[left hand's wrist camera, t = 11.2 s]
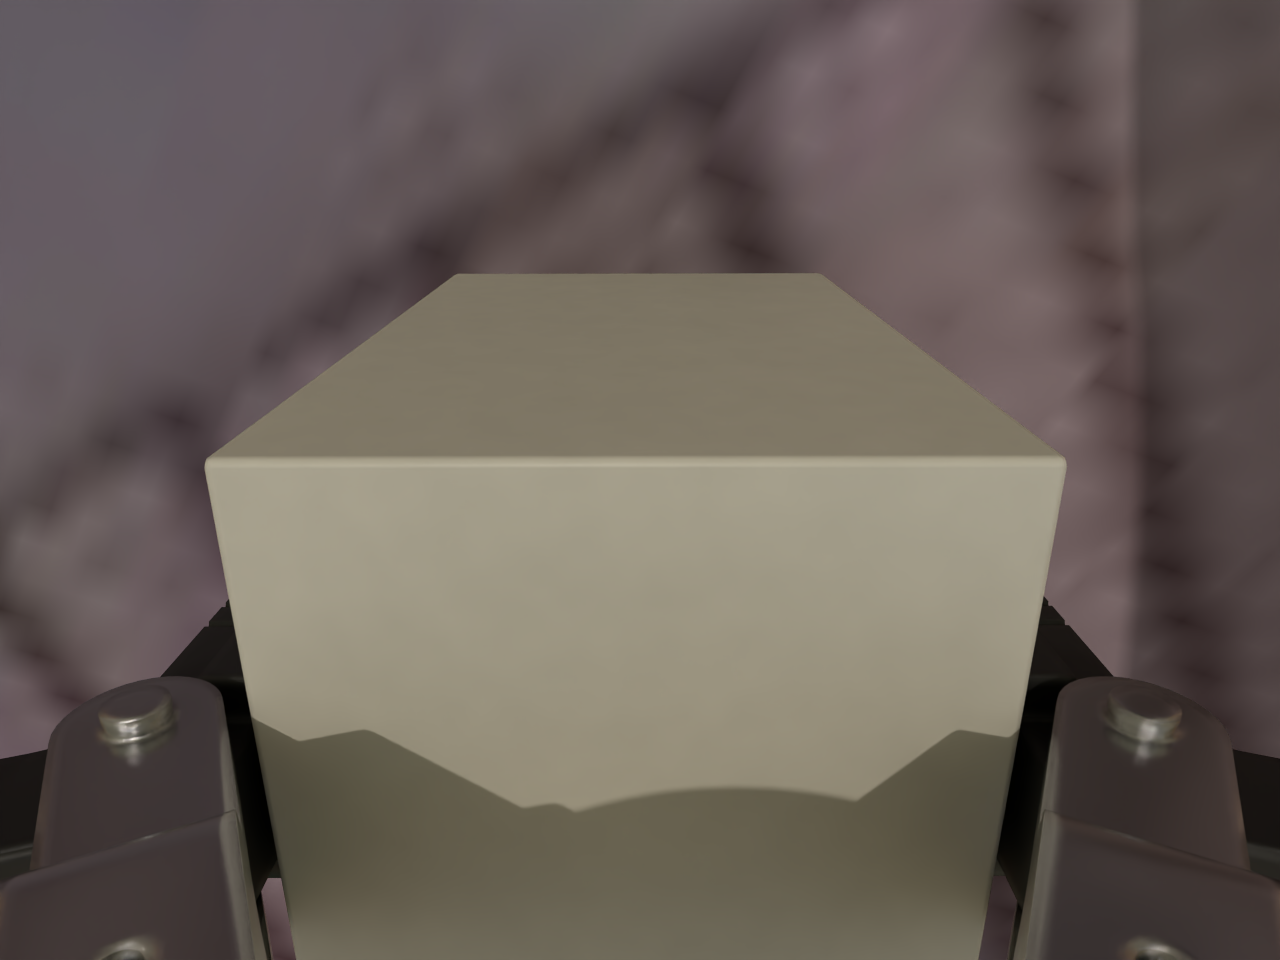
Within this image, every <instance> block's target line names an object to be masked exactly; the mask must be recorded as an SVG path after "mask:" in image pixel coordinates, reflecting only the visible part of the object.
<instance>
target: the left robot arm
mask: <svg viewBox="0 0 1280 960" xmlns="http://www.w3.org/2000/svg"><path fill="white" fill-rule="evenodd" d="M993 876H1006V878H1007V880H1008V882H1009V884H1010V887H1011V889H1012V891H1013V893H1014V895H1015V897H1016V899H1017V903H1016V908H1015V913H1014V918H1013V923H1012V929H1011V936H1010V942H1009V948H1008V954H1007V960H1280V759H1279V758H1274V757H1269V756H1263V755H1258V754H1253V753H1248V752H1242V751H1238V750H1234V749H1232V744H1231V740H1230V737H1229V734H1228V732H1227V731H1226V729H1225V728H1224V726H1223V725H1222V724H1221V723H1220V722H1219V721H1218V719H1217V718H1216V717H1214V716H1213V715H1212V714H1211V713H1210V712H1208V711H1207V710H1206V709H1204V708H1203V707H1201V706H1200V705H1198V704H1197V703H1195V702H1194V701H1192V700H1190V699H1188V698H1186V697H1184V696H1182V695H1180V694H1178V693H1176V692H1173V691H1171V690H1169V689H1166V688H1163V687H1160V686H1157V685H1154V684H1151V683H1147V682H1143V681H1139V680H1134V679H1129V678H1122V677H1114V676H1113V675H1112V674H1111V673H1110V672H1109V671H1108V670H1107V668H1106V667H1105V666H1104V665H1103V664H1102V663H1101V661H1100V660H1099V659H1098V658H1097V657H1096V656H1095V655H1094V653H1093V652H1092V651H1091V650H1090V649H1089V648H1088V647H1087V645H1086V644H1085V643H1084V642H1083V641H1082V640H1081V639H1080V637H1079V636H1078V635H1077V634H1076V633H1075V632H1074V630H1073V629H1072V628H1071V627H1070V626H1069V625H1065V620H1064V619H1063V618H1062V617H1061V616H1060V614H1059V613H1058V612H1057V611H1056V610H1055V609H1054V607H1053V606H1048V601H1047V599H1046V598H1045V597H1044V596H1043V602H1042V607H1041V613H1040V618H1039V624H1038V630H1037V635H1036V641H1035V646H1034V652H1033V657H1032V663H1031V669H1030V674H1029V680H1028V685H1027V691H1026V696H1025V702H1024V708H1023V713H1022V719H1021V724H1020V730H1019V735H1018V741H1017V746H1016V752H1015V758H1014V763H1013V769H1012V774H1011V780H1010V785H1009V791H1008V797H1007V802H1006V808H1005V813H1004V819H1003V824H1002V830H1001V836H1000V841H999V847H998V852H997V858H996V863H995V869H994V874H993ZM267 878H281V874H280V869H279V863H278V858H277V853H276V847H275V842H274V837H273V831H272V826H271V821H270V815H269V810H268V804H267V799H266V794H265V788H264V783H263V778H262V772H261V767H260V762H259V756H258V751H257V746H256V740H255V735H254V730H253V724H252V719H251V713H250V708H249V703H248V697H247V692H246V687H245V681H244V676H243V671H242V665H241V660H240V655H239V649H238V644H237V639H236V633H235V628H234V623H233V617H232V612H231V606H230V601H229V600H228V601H227V602H226V607H222V608H221V609H220V610H219V611H218V612H217V613H216V614H215V615H214V617H213V618H212V619H211V620H210V621H209V627H204V628H203V629H202V630H201V631H200V633H199V634H198V635H197V636H196V637H195V638H194V639H193V640H192V642H191V643H190V644H189V645H188V646H187V647H186V648H185V650H184V651H183V652H182V653H181V654H180V655H179V656H178V657H177V659H176V660H175V661H174V662H173V663H172V664H171V665H170V667H169V668H168V669H167V670H166V671H165V672H164V673H163V675H162V676H161V677H158V678H151V679H146V680H141V681H137V682H133V683H129V684H126V685H123V686H120V687H117V688H114V689H111V690H109V691H107V692H104V693H102V694H100V695H98V696H96V697H94V698H92V699H90V700H88V701H86V702H85V703H83V704H82V705H80V706H79V707H77V708H76V709H74V710H73V711H72V712H70V713H69V714H68V715H67V716H66V717H64V718H63V719H62V721H61V722H60V723H59V724H58V725H57V726H56V728H55V729H54V731H53V732H52V734H51V737H50V740H49V744H48V749H47V750H43V751H38V752H34V753H30V754H25V755H19V756H14V757H9V758H4V759H0V960H273V954H272V948H271V942H270V936H269V929H268V923H267V918H266V913H265V908H264V903H263V898H262V893H261V890H262V888H263V886H264V884H265V882H266V880H267Z"/></svg>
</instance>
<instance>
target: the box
mask: <svg viewBox="0 0 1280 960" xmlns="http://www.w3.org/2000/svg"><path fill="white" fill-rule="evenodd" d="M1066 468H1067V465H1066V460H1065V457H1063V456H1062V455H1061V454H1059V453H1058V452H1057V451H1055V450H1054V449H1053V448H1052V447H1050V446H1049V445H1048V444H1046V443H1045V442H1044V441H1042V440H1041V439H1040V438H1038V437H1037V436H1036V435H1034V434H1033V433H1032V432H1030V431H1029V430H1028V429H1026V428H1025V427H1024V426H1022V425H1021V424H1020V423H1018V422H1017V421H1016V420H1014V419H1013V418H1012V417H1010V416H1009V415H1008V414H1006V413H1005V412H1004V411H1002V410H1001V409H1000V408H998V407H997V406H996V405H994V404H993V403H992V402H990V401H989V400H988V399H986V398H985V397H984V396H982V395H981V394H980V393H978V392H977V391H976V390H974V389H973V388H972V387H971V386H969V385H968V384H967V383H965V382H964V381H963V380H961V379H960V378H959V377H957V376H956V375H955V374H953V373H952V372H951V371H949V370H948V369H947V368H945V367H944V366H943V365H941V364H940V363H939V362H937V361H936V360H935V359H933V358H932V357H931V356H929V355H928V354H927V353H925V352H924V351H923V350H921V349H920V348H919V347H917V346H916V345H915V344H913V343H912V342H911V341H909V340H908V339H907V338H905V337H904V336H903V335H901V334H900V333H899V332H897V331H896V330H895V329H893V328H892V327H891V326H889V325H888V324H887V323H886V322H884V321H883V320H882V319H880V318H879V317H878V316H876V315H875V314H874V313H872V312H871V311H870V310H868V309H867V308H866V307H864V306H863V305H862V304H860V303H859V302H858V301H856V300H855V299H854V298H852V297H851V296H850V295H848V294H847V293H846V292H844V291H843V290H842V289H840V288H839V287H838V286H836V285H835V284H834V283H832V282H831V281H830V280H828V279H827V278H826V277H824V276H823V275H822V274H819V273H754V274H456V275H454V276H453V277H452V278H450V279H449V280H448V281H446V282H445V283H443V284H442V285H441V286H439V287H438V288H437V289H435V290H434V291H433V292H431V293H430V294H429V295H427V296H426V297H425V298H423V299H422V300H421V301H419V302H418V303H416V304H415V305H414V306H412V307H411V308H410V309H408V310H407V311H406V312H404V313H403V314H402V315H400V316H399V317H398V318H396V319H395V320H393V321H392V322H391V323H389V324H388V325H387V326H385V327H384V328H383V329H381V330H380V331H379V332H377V333H376V334H375V335H373V336H372V337H370V338H369V339H368V340H366V341H365V342H364V343H362V344H361V345H360V346H358V347H357V348H356V349H354V350H353V351H352V352H350V353H349V354H347V355H346V356H345V357H343V358H342V359H341V360H339V361H338V362H337V363H335V364H334V365H333V366H331V367H330V368H329V369H327V370H326V371H325V372H323V373H322V374H320V375H319V376H318V377H316V378H315V379H314V380H312V381H311V382H310V383H308V384H307V385H306V386H304V387H303V388H302V389H300V390H299V391H297V392H296V393H295V394H293V395H292V396H291V397H289V398H288V399H287V400H285V401H284V402H283V403H281V404H280V405H279V406H277V407H276V408H274V409H273V410H272V411H270V412H269V413H268V414H266V415H265V416H264V417H262V418H261V419H260V420H258V421H257V422H256V423H254V424H253V425H251V426H250V427H249V428H247V429H246V430H245V431H243V432H242V433H241V434H239V435H238V436H237V437H235V438H234V439H233V440H231V441H230V442H228V443H227V444H226V445H224V446H223V447H222V448H220V449H219V450H218V451H216V452H215V453H214V454H212V455H211V456H210V457H208V458H207V459H206V463H205V473H206V478H207V483H208V489H209V494H210V499H211V505H212V510H213V515H214V521H215V526H216V532H217V537H218V542H219V548H220V553H221V558H222V564H223V569H224V574H225V580H226V585H227V590H228V596H229V601H230V606H231V612H232V617H233V623H234V628H235V633H236V639H237V644H238V649H239V655H240V660H241V665H242V671H243V676H244V681H245V687H246V692H247V697H248V703H249V708H250V713H251V719H252V724H253V730H254V735H255V740H256V746H257V751H258V756H259V762H260V767H261V772H262V778H263V783H264V788H265V794H266V799H267V804H268V810H269V815H270V821H271V826H272V831H273V837H274V842H275V847H276V853H277V858H278V863H279V869H280V874H281V879H282V885H283V890H284V895H285V901H286V906H287V912H288V917H289V922H290V928H291V933H292V938H293V944H294V949H295V954H296V960H978V958H979V952H980V947H981V941H982V936H983V930H984V925H985V919H986V913H987V908H988V902H989V897H990V891H991V886H992V880H993V874H994V869H995V863H996V858H997V852H998V847H999V841H1000V836H1001V830H1002V824H1003V819H1004V813H1005V808H1006V802H1007V797H1008V791H1009V785H1010V780H1011V774H1012V769H1013V763H1014V758H1015V752H1016V746H1017V741H1018V735H1019V730H1020V724H1021V719H1022V713H1023V708H1024V702H1025V696H1026V691H1027V685H1028V680H1029V674H1030V669H1031V663H1032V657H1033V652H1034V646H1035V641H1036V635H1037V630H1038V624H1039V618H1040V613H1041V607H1042V602H1043V596H1044V591H1045V585H1046V580H1047V574H1048V568H1049V563H1050V557H1051V552H1052V546H1053V541H1054V535H1055V529H1056V524H1057V518H1058V513H1059V507H1060V502H1061V496H1062V490H1063V485H1064V479H1065V474H1066Z"/></svg>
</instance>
